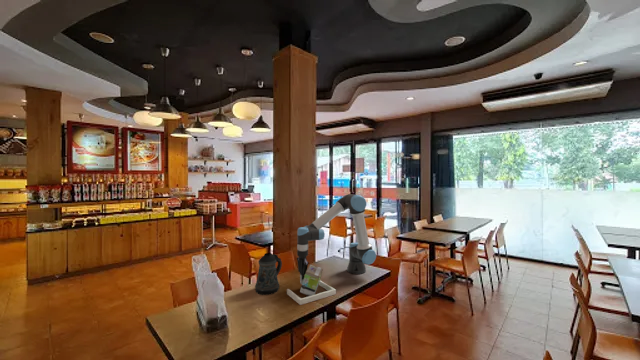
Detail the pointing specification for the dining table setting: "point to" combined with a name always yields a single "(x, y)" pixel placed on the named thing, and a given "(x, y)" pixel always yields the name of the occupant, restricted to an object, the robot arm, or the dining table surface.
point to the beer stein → (268, 274)
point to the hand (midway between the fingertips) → (302, 283)
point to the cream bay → (314, 297)
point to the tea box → (311, 280)
